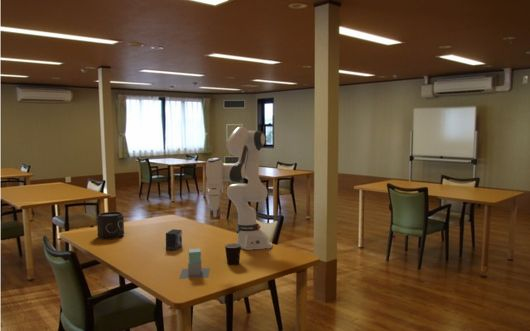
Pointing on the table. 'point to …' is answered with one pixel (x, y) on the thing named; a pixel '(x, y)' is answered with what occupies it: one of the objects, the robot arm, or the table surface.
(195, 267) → the slate block
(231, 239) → the table surface
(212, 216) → the walnut block
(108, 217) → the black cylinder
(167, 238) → the small box
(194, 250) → the teal block
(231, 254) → the coffee mug
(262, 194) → the robot arm
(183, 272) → the mat
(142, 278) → the table surface
